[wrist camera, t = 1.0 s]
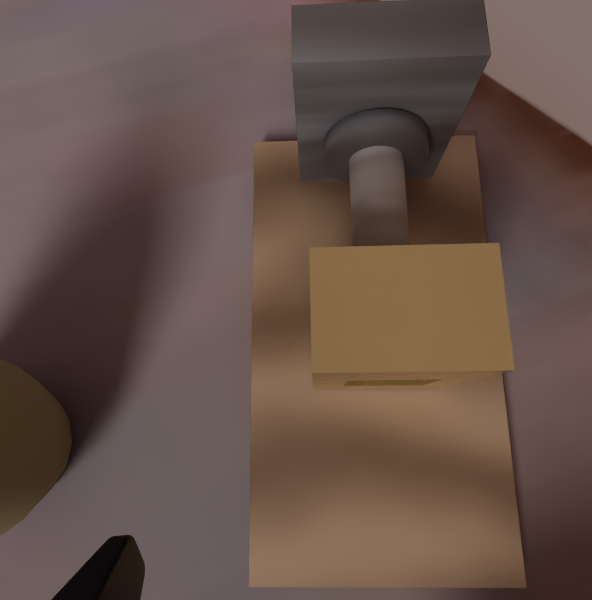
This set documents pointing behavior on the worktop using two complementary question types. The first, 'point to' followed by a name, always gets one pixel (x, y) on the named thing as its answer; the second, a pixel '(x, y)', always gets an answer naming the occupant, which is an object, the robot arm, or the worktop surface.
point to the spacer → (407, 316)
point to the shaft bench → (297, 319)
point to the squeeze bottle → (28, 443)
